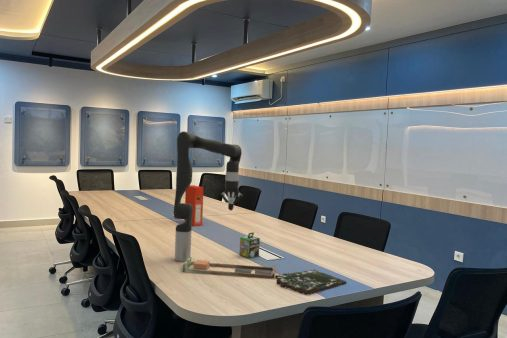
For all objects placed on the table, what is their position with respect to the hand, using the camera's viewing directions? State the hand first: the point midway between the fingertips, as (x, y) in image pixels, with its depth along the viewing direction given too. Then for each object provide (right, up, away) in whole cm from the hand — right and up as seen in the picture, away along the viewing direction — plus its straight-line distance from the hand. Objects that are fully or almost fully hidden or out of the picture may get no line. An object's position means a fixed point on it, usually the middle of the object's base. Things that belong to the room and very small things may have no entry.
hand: (230, 210), depth 225 cm
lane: (0, -33, -8) cm, 33 cm away
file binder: (-38, -24, +111) cm, 120 cm away
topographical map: (+40, -36, -19) cm, 57 cm away
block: (-16, -32, -7) cm, 36 cm away
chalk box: (+10, -31, +24) cm, 41 cm away
